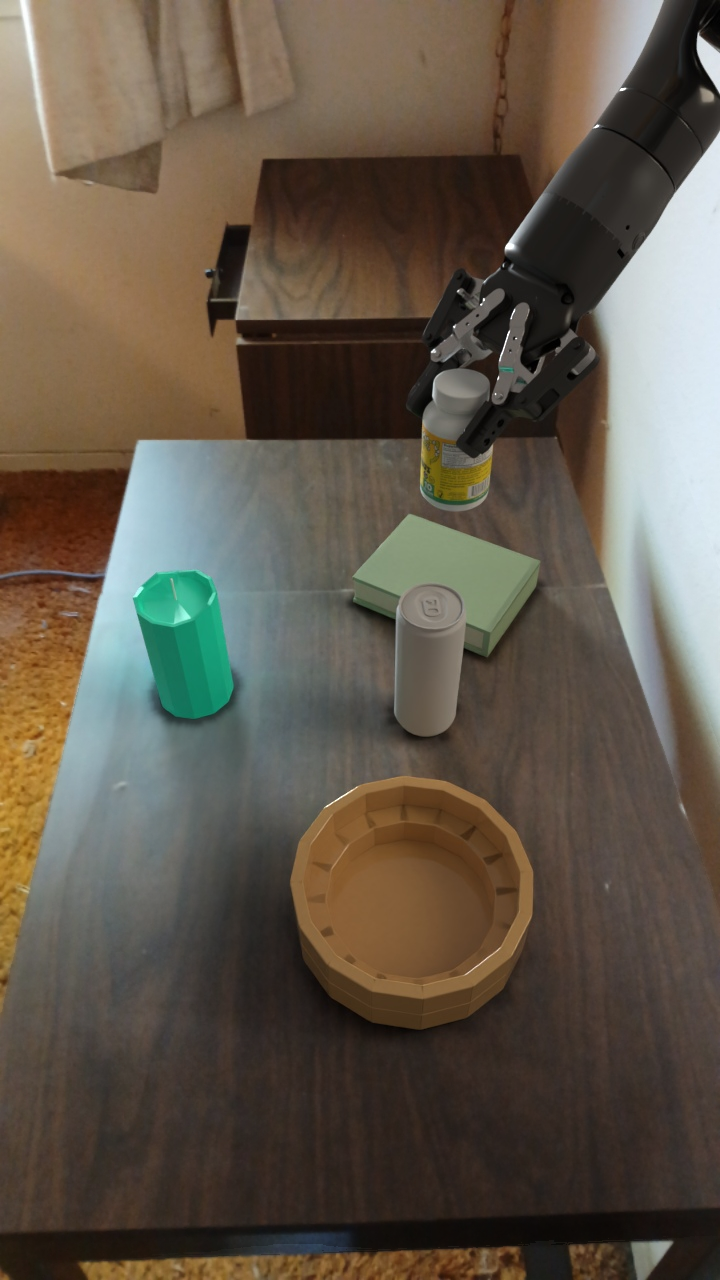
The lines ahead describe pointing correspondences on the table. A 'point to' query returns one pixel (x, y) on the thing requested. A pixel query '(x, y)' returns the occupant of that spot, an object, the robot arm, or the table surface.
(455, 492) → the supplement bottle
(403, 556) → the book
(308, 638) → the table surface
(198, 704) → the candle
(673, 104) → the robot arm
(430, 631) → the beverage can
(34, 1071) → the table surface
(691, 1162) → the table surface
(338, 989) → the bowl
